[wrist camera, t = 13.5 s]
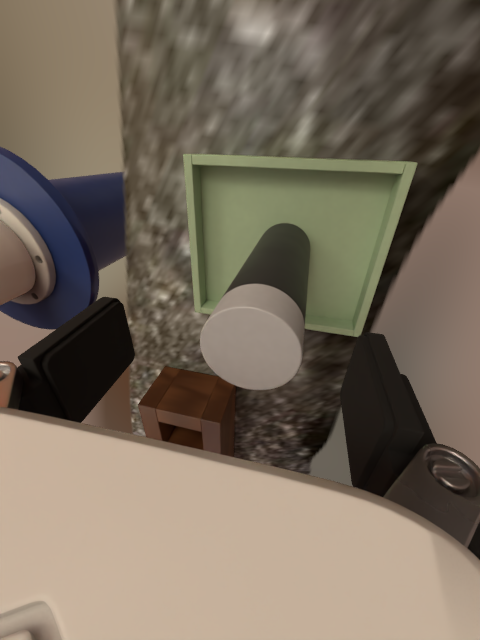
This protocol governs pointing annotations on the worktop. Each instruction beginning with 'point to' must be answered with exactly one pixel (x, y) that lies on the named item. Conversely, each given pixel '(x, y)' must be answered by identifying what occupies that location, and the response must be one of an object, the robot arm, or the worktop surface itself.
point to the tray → (303, 211)
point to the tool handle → (262, 314)
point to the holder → (190, 411)
